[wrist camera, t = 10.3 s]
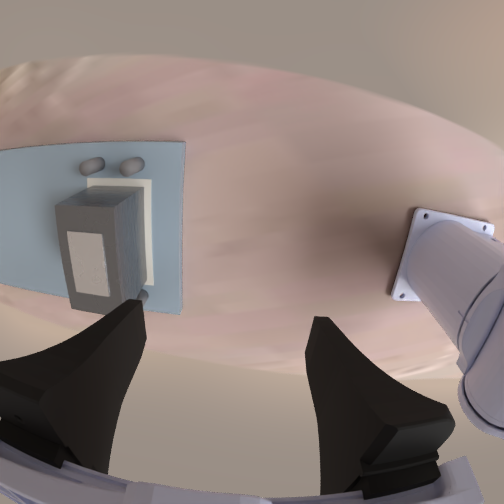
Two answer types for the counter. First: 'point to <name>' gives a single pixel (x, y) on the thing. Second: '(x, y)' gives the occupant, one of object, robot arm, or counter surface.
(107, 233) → the block
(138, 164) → the pin tray
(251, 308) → the counter surface
